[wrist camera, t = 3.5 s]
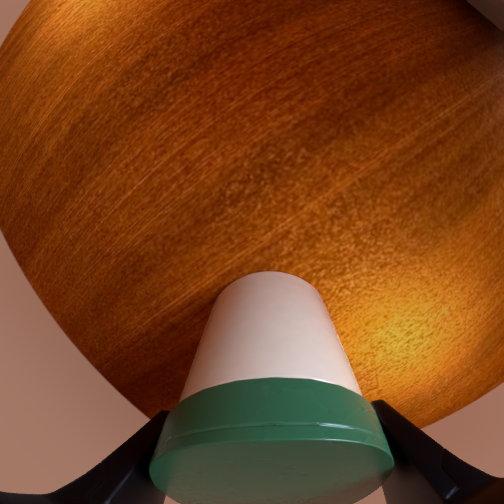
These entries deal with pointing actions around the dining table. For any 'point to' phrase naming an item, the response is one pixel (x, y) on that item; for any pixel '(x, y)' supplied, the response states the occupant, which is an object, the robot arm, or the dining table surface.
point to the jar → (269, 336)
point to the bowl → (491, 11)
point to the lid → (271, 445)
